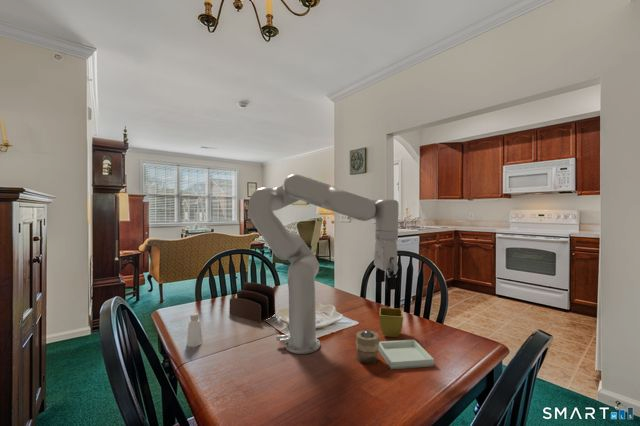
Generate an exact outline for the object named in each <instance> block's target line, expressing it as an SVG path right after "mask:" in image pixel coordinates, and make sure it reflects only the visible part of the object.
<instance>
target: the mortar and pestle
mask: <svg viewBox="0 0 640 426" xmlns="http://www.w3.org/2000/svg"><path fill="white" fill-rule="evenodd" d="M365 330H366V331H365ZM365 330H363V331H364V337H365V338H371V331H372V330H369V329H368V330H369V331H368V330H367V329H365ZM356 350H357V351H356V355H357V356H356V357H357V358H356V359H357V361H358V362H359V363H361V364H364V365H373V364H376V363H377V362H378V352H379V351H378V350H377V351H375V352H363V351H360V350H358V349H356Z"/></svg>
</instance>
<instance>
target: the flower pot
mask: <svg viewBox="0 0 640 426" xmlns="http://www.w3.org/2000/svg"><path fill="white" fill-rule="evenodd" d="M403 322H404V314H403V309H402V308H392V307H379V323H380V325H379V326H380V329H381V332H382V335H383V336H384V337H391V338H398V337H399V336H400V334H401V333H402V329H403Z"/></svg>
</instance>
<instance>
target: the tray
mask: <svg viewBox="0 0 640 426" xmlns="http://www.w3.org/2000/svg"><path fill="white" fill-rule="evenodd" d="M378 352H379V353H380V355H381V357H382V358H383V359H384V361H385V362H386V364H387V366H388V367H389V368H390V370H396V369H397V370H399V369H414V368H426V367H434V366H435V358H433V357H432V356H431V354H430V353H428V351H426V349H424V348H423V346H421V345H420V343H419V342H417V341H416V340H415V339H403V340H402V339H401V340H384V341H379V349H378Z"/></svg>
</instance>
